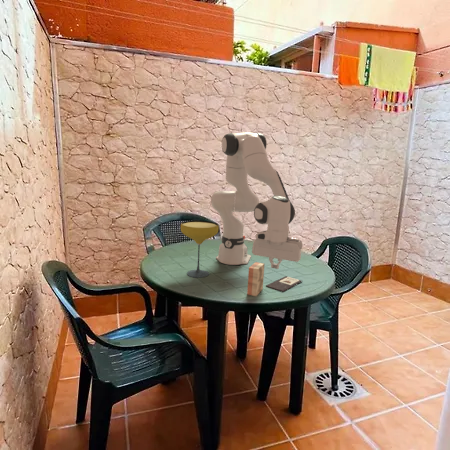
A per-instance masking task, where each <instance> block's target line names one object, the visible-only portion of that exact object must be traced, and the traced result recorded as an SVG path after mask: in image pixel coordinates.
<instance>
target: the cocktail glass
mask: <svg viewBox="0 0 450 450" xmlns="http://www.w3.org/2000/svg"><path fill="white" fill-rule="evenodd" d="M219 231H220V230H219V224H218V223H217V222H214V221H209V220H198V219H196V220H185V221H182V222H181V223H180V232H181V234H183V235H184V236H186V237H188V238H189V239H192V240H193V241H194V242H195V243H196V244H197V245H198V247H197V251H198V252H197V265H196V266H197V267H196V269H192V270H191V269H190V270H188V271H187V273H186V275H187V276H188V277H191V278H195V279H196V278H197V279H198V278H200V279H201V278H206V277H208V276H209V275H210V272H208V271H207V270H203V269H200V247H201V246H200V245H202V244H203V243H204V242H205V241H206V240H208V239H211V238H213V237H214V236H217V234H218V233H219Z"/></svg>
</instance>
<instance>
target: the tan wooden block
mask: <svg viewBox="0 0 450 450" xmlns="http://www.w3.org/2000/svg"><path fill="white" fill-rule="evenodd" d="M264 273H265V263H264V262H263V263H262V262H257V261H255V262H254V263H253V264H251V266H249V267H248V276H247V277H248V279H247V289H246V291H247V292H246V295H249V296H253V297H258V295H259V294H260V293H261V292H262V291H263V289H264V276H265V274H264Z"/></svg>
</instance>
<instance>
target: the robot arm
mask: <svg viewBox="0 0 450 450" xmlns="http://www.w3.org/2000/svg"><path fill="white" fill-rule="evenodd" d="M267 145H268V143H267V138H266V136H265V135H264V134H263V133H260V132H247V131H246V132H235V133H232V132H231V133H230V132H229V133H226V134H225V135H224V136H223V137H222V139H221V149H222V152H223V154H224V155H225V156H226V162H225V163H226V164H225V165H226V166H225V180H226V182H227V184H228V185H231V186H232V187H234V188H235V189H236V190H219V191H215V192H214V193H213V194H212V195H211V198H210V204H211V207H212V208H213V209H214V210H215V211H216V212H217V213H218V215H219V216H220V217H221V221H222V235H221V243H220V244H219V247H218V255H217V256H215V259H216V260H217V261H219V263H222V264H225V265H231V266H232V265H234V266H235V265H237V266H239V265H248V264H249V262H250V261H251V258H252V255H253V256H260V257H263V258H264V257H265V258H268V261H269V262H270V265H271V266H270V268H271V269H276V270H278V269H279V268H280V264H281V263H282V262H283V260H284V261H289V262H295V263H297V262H299V261H300V260H301V259H302V249H303V242H302V240H300V239H299V238H296V237H295V238H294V237H290V236H289V234H290V226H289V224H291V223H292V222H293V220H294V219H295V216H296V210H295V206H294V205H293V203H292V202H291V200H290V197H289V196H288V193H287V191H286V187H285V186H284V183H283V180H282V178H281V176H280V174H279V172H278V171H277V170H276V169H275V168H274V167H273V166H272V163H271V162H270V160H269V158H268V154H267V151H266V150H267ZM248 177H250V178H252V179H254V180H256V181H259V182H262V183H264V184H265V185H267V186H268V187H269V188H270V189H271V192H272V194H273V196H271V197H270V198H269V199H268V200H266V201H261V202H260V200H259V197H258V195H257V194H256V193H255V192H254V191H253V190H252V189H251V188H250V185H249V183H248ZM235 212H236V213H250V212H253V217H254V219H255V221H256V222H257V223H258V224H259V225H267V228H266V229H267V230H262V231H259V232H257V233H256V234H255V236H254V237H255V239H254V241H253V243H252V248H251V249H252V250H251V253H252V255H250V254H249V253H248V251H249V250H248V247H247V246H246V244H245V239H246V235H244V226H245V224H244V222H243V221H242V220H241V219H240V218H238V217H236V216H235V215H234V213H235ZM274 259H277V263H275V262H274Z"/></svg>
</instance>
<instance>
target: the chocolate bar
mask: <svg viewBox="0 0 450 450" xmlns="http://www.w3.org/2000/svg"><path fill="white" fill-rule="evenodd" d="M301 281H302V280H299V279H297V278H294V277H290V276H288V275H287V276H286V275H285V276H283V277H281V278H279V279H277V280H275V281H272V282H271V283H268V284H266V285H265V287H266V288H269V289H273V290H276V291H279V292H281V291H282V292H281V293H284V292H286V291H288V290H290V289H292V288H294V287H295V286H294V285H296V284H298V283H299V282H301ZM301 283H302V282H301ZM299 284H300V283H299ZM299 284H298V285H299ZM293 286H294V287H293ZM296 286H297V285H296ZM291 287H292V288H291ZM289 288H290V289H289ZM287 289H288V290H287Z"/></svg>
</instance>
